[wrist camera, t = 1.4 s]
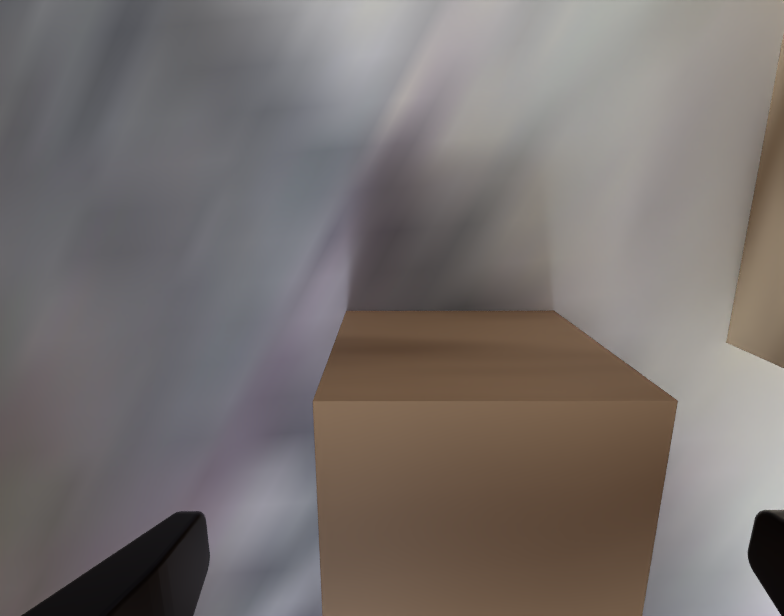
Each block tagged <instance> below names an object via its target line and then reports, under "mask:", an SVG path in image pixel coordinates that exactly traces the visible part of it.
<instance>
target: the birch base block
mask: <svg viewBox="0 0 784 616" xmlns="http://www.w3.org/2000/svg"><path fill="white" fill-rule="evenodd" d="M726 343H728V344H731V345H733V346H735V347H737V348H740V349H742V350H744V351H746V352H749V353H751V354H753V355H755V356H758V357H760V358H762V359H764V360H767V361H769V362H771V363H773V364H776V365H778V366H780V367H782V368H784V34H783V40H782V45H781V50H780V56H779V61H778V67H777V72H776V77H775V83H774V88H773V94H772V99H771V104H770V110H769V115H768V120H767V126H766V131H765V137H764V142H763V147H762V153H761V158H760V163H759V169H758V174H757V180H756V185H755V190H754V196H753V201H752V206H751V212H750V217H749V223H748V228H747V233H746V239H745V244H744V250H743V255H742V260H741V266H740V271H739V276H738V282H737V287H736V293H735V298H734V303H733V309H732V314H731V319H730V325H729V330H728V336H727V341H726Z"/></svg>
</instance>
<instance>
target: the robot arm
mask: <svg viewBox="0 0 784 616" xmlns="http://www.w3.org/2000/svg"><path fill="white" fill-rule="evenodd" d="M209 560H210V552H209V543H208V534H207V525H206V518H205V516H204V514H203V513H202V512H199V511H181V512H176V513H175V514H173V515H171V516H170V517H168V518H167V519H165V520H164V521H162V522H161V523H159V524H158V525H156V526H155V527H153V528H152V529H150V530H149V531H147V532H146V533H144V534H143V535H141V536H140V537H138V538H137V539H135V540H134V541H132V542H131V543H129V544H128V545H126V546H125V547H123V548H122V549H120V550H119V551H117V552H116V553H114V554H113V555H111V556H110V557H108V558H107V559H105V560H104V561H102V562H101V563H99V564H98V565H96V566H95V567H93V568H92V569H90V570H89V571H87V572H86V573H84V574H83V575H81V576H80V577H78V578H77V579H75V580H74V581H72V582H71V583H69V584H68V585H66V586H65V587H63V588H62V589H60V590H59V591H57V592H56V593H55V594H53V595H52V596H50V597H49V598H47V599H46V600H44V601H43V602H41V603H40V604H38V605H37V606H35V607H34V608H32V609H31V610H29V611H28V612H26V613H25V614H23V615H22V616H193V615H194V612H195V609H196V606H197V603H198V599H199V596H200V593H201V590H202V587H203V584H204V581H205V577H206V574H207V571H208V567H209ZM748 560H749V563H750V566H751V568H752V570H753V572H754V573H755V575H756V576H757V578H758V580H759V581H760V583H761V584H762V586H763V587H764V589H765V591H766V592H767V594H768V595H769V597H770V598H771V600H772V602H773V603H774V605H775V606H776V608H777V609H778V611H779V613H780V614H781V616H784V510H763V511H760V512H759V513H758V514H757V515H756V517H755V521H754V525H753V530H752V534H751V538H750V543H749V547H748Z"/></svg>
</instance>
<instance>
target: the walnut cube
mask: <svg viewBox="0 0 784 616" xmlns="http://www.w3.org/2000/svg"><path fill="white" fill-rule="evenodd" d="M677 402H678V401H677V400H676V399H675V398H673V397H672V396H670V395H669V394H668V393H666V392H665V391H664V390H662V389H661V388H659V387H658V386H657V385H655V384H654V383H653V382H651V381H650V380H648V379H647V378H646V377H644V376H643V375H642V374H640V373H639V372H637V371H636V370H635V369H633V368H632V367H631V366H629V365H628V364H626V363H625V362H624V361H622V360H621V359H620V358H618V357H617V356H615V355H614V354H613V353H611V352H610V351H609V350H607V349H606V348H605V347H603V346H602V345H600V344H599V343H598V342H596V341H595V340H594V339H592V338H591V337H589V336H588V335H587V334H585V333H584V332H583V331H581V330H580V329H578V328H577V327H576V326H574V325H573V324H572V323H570V322H569V321H567V320H566V319H565V318H563V317H562V316H561V315H559V314H558V313H556V312H555V311H346V313H345V316H344V319H343V321H342V324H341V327H340V329H339V332H338V335H337V337H336V340H335V343H334V345H333V348H332V351H331V354H330V356H329V359H328V362H327V364H326V367H325V370H324V372H323V375H322V378H321V381H320V383H319V386H318V389H317V391H316V394H315V397H314V399H313V416H314V438H315V460H316V482H317V504H318V526H319V548H320V570H321V592H322V614H323V616H642V613H643V607H644V601H645V595H646V589H647V583H648V577H649V571H650V565H651V559H652V553H653V547H654V541H655V535H656V529H657V523H658V517H659V511H660V505H661V499H662V493H663V487H664V481H665V475H666V469H667V463H668V457H669V451H670V445H671V439H672V433H673V427H674V421H675V414H676V408H677Z"/></svg>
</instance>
